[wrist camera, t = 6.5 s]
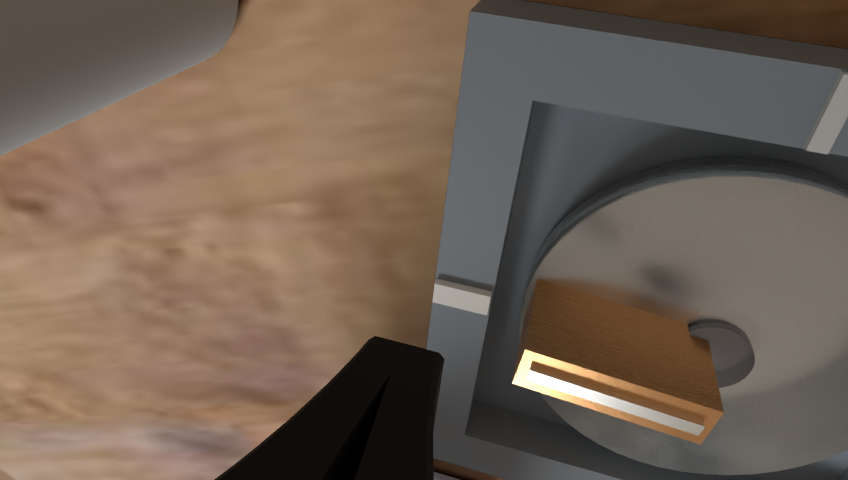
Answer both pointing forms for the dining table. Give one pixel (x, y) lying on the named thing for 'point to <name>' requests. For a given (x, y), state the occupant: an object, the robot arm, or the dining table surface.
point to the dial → (698, 317)
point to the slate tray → (592, 192)
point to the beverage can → (95, 55)
